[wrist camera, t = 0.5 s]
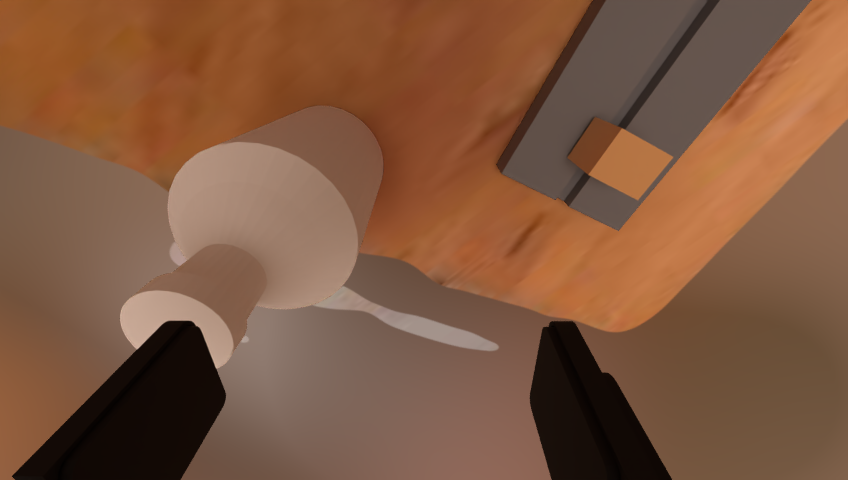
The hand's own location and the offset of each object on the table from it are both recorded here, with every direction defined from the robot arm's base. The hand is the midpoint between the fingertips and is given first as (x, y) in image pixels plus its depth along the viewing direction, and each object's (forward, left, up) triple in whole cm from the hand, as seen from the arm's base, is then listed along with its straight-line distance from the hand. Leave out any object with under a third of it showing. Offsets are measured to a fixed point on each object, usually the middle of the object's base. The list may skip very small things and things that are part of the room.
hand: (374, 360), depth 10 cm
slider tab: (-7, +16, -27) cm, 32 cm away
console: (-17, +16, -29) cm, 37 cm away
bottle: (+6, -7, -29) cm, 31 cm away
